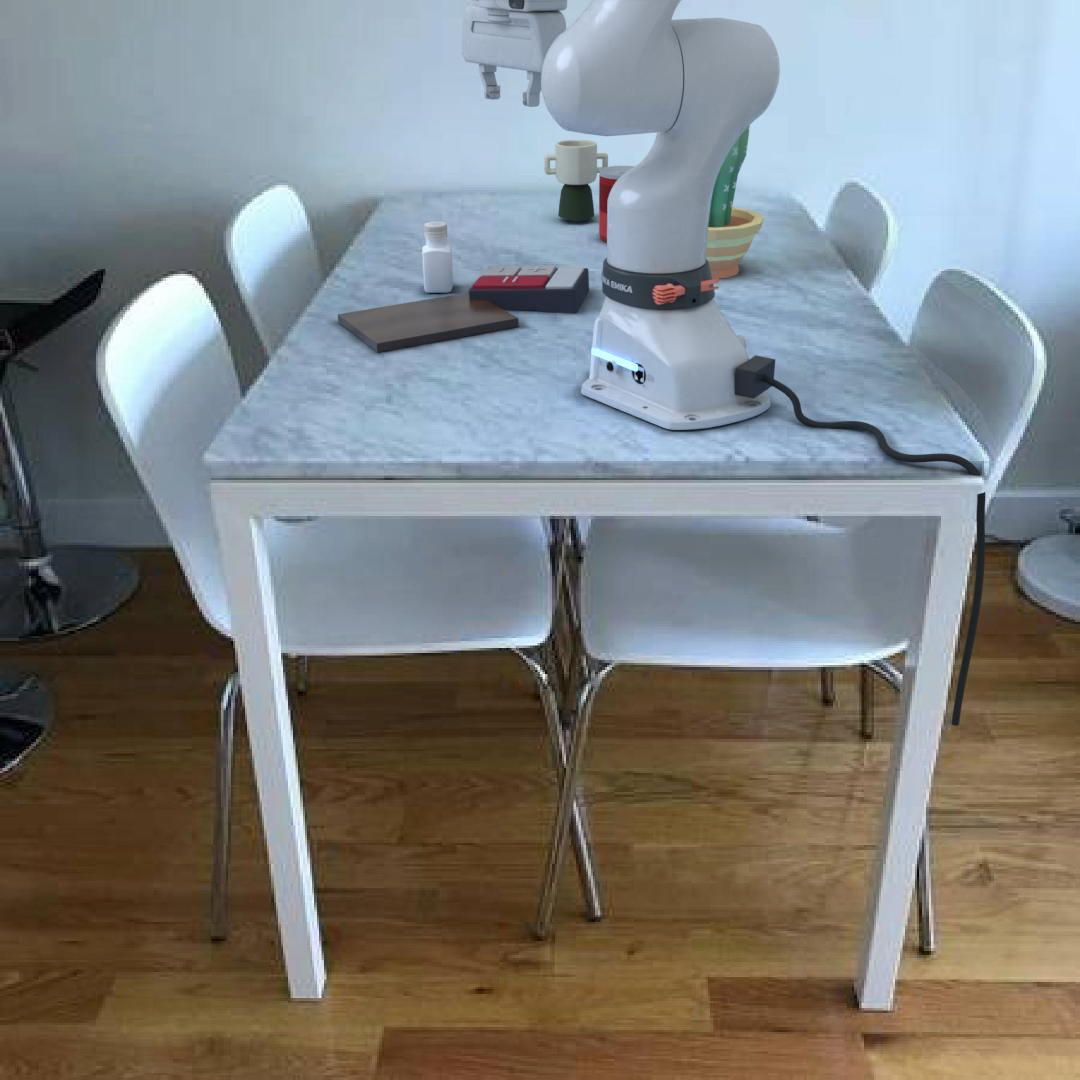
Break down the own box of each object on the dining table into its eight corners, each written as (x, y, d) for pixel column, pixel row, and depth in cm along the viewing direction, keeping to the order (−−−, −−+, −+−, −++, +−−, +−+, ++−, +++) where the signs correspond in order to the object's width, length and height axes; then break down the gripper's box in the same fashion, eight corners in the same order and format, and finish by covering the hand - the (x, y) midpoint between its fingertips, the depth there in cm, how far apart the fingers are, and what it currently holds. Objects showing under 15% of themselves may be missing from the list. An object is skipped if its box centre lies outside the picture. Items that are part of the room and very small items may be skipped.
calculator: (486, 263, 178) (588, 262, 175) (489, 292, 180) (590, 292, 177) (467, 285, 168) (574, 284, 165) (469, 315, 170) (576, 315, 167)
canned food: (610, 246, 198) (611, 177, 193) (591, 235, 204) (591, 167, 199) (653, 241, 200) (655, 172, 195) (632, 230, 207) (634, 163, 202)
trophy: (604, 214, 218) (605, 138, 211) (610, 224, 211) (611, 145, 205) (543, 216, 217) (542, 140, 211) (546, 226, 211) (545, 147, 204)
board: (518, 326, 162) (518, 318, 162) (377, 352, 154) (376, 343, 153) (472, 300, 173) (472, 291, 173) (338, 322, 165) (337, 314, 164)
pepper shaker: (452, 293, 176) (448, 227, 172) (424, 294, 176) (420, 227, 172) (453, 285, 180) (450, 220, 175) (426, 286, 180) (422, 220, 175)
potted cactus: (754, 256, 191) (765, 87, 180) (767, 284, 178) (780, 103, 166) (654, 257, 192) (659, 88, 180) (660, 285, 178) (665, 104, 167)
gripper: (449, -10, 170) (452, 96, 176) (536, -3, 155) (535, 112, 162) (487, -10, 174) (488, 93, 180) (575, -4, 159) (573, 108, 165)
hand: (511, 102), depth 171 cm, fingers open, 8 cm apart
